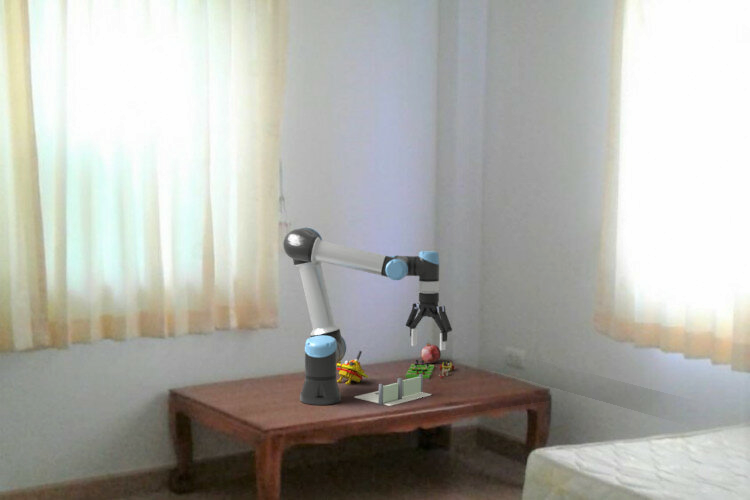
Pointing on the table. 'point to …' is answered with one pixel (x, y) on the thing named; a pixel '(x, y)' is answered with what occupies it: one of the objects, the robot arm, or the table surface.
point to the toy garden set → (428, 369)
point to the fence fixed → (390, 391)
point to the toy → (351, 370)
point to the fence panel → (412, 386)
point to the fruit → (430, 353)
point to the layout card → (375, 398)
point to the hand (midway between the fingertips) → (428, 347)
